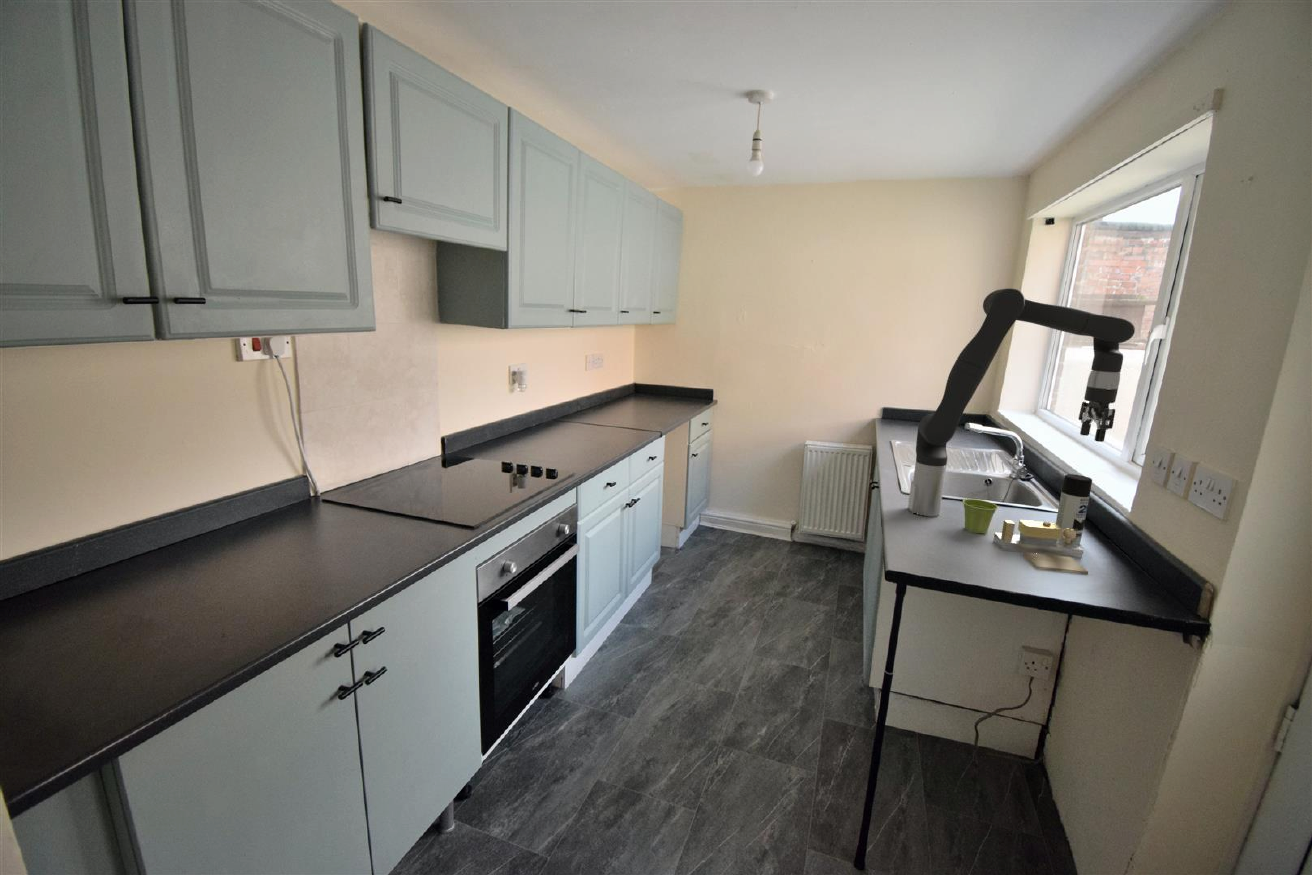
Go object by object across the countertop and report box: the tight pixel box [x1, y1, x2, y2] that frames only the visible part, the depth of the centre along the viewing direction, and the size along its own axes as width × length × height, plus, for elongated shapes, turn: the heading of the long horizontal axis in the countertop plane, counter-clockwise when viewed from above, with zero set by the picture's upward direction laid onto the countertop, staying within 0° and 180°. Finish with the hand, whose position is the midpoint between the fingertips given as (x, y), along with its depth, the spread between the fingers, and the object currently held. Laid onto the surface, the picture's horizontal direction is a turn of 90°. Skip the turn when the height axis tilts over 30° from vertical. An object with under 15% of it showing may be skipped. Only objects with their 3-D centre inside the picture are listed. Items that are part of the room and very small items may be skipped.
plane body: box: [992, 519, 1084, 559], centre depth 160 cm, size 20×7×8 cm, turn 78°
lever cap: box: [1017, 519, 1063, 540], centre depth 159 cm, size 9×5×4 cm, turn 78°
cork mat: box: [1022, 552, 1089, 575], centre depth 151 cm, size 12×9×1 cm
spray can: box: [1055, 473, 1093, 546], centre depth 165 cm, size 7×7×20 cm
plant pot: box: [962, 498, 999, 535], centre depth 173 cm, size 9×9×9 cm
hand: (1091, 438), depth 173 cm, fingers open, 8 cm apart
